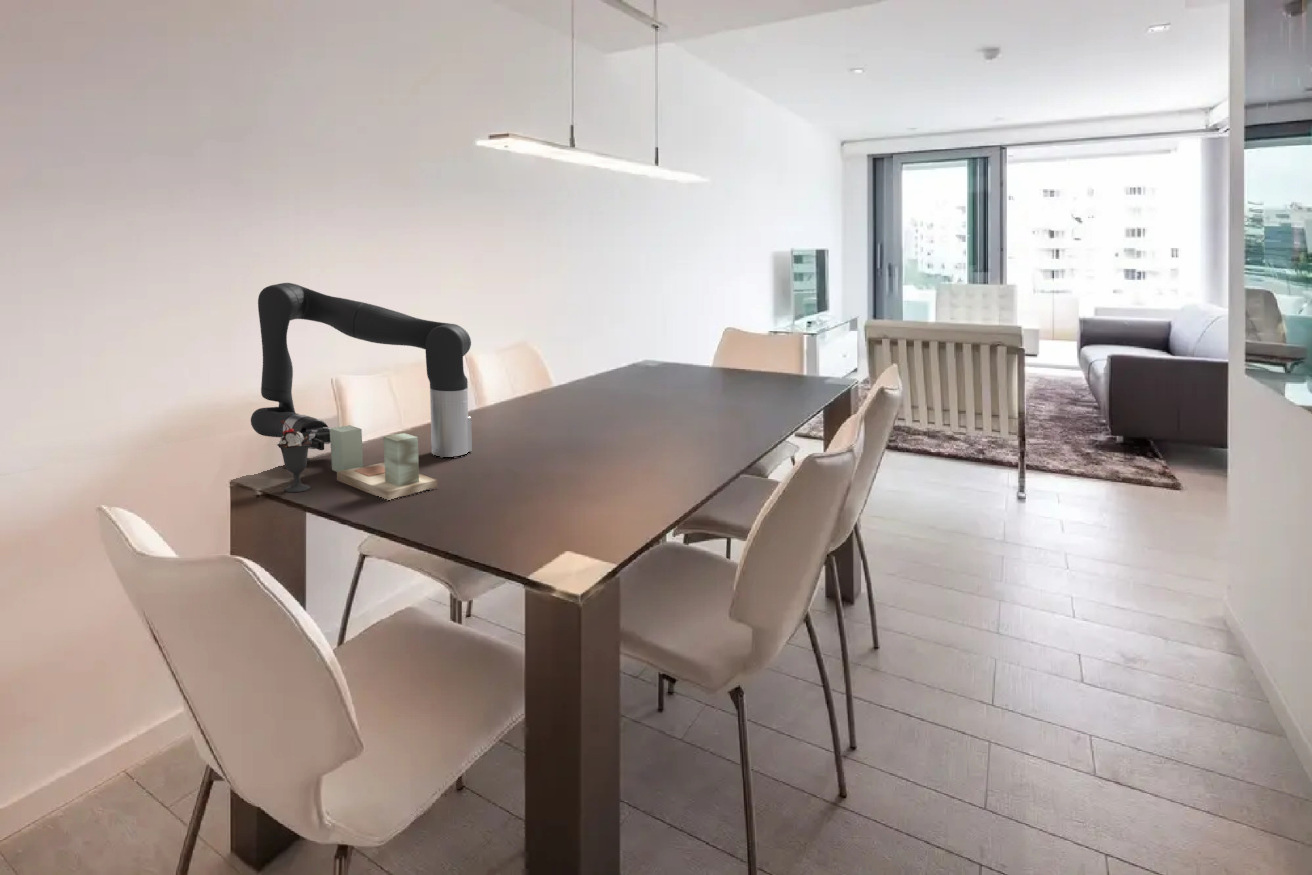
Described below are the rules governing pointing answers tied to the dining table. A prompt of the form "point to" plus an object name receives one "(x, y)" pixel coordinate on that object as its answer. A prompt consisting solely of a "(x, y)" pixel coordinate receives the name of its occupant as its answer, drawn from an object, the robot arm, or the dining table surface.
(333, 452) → the green block
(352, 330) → the robot arm
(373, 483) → the board
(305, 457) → the sundae
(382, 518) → the dining table surface
